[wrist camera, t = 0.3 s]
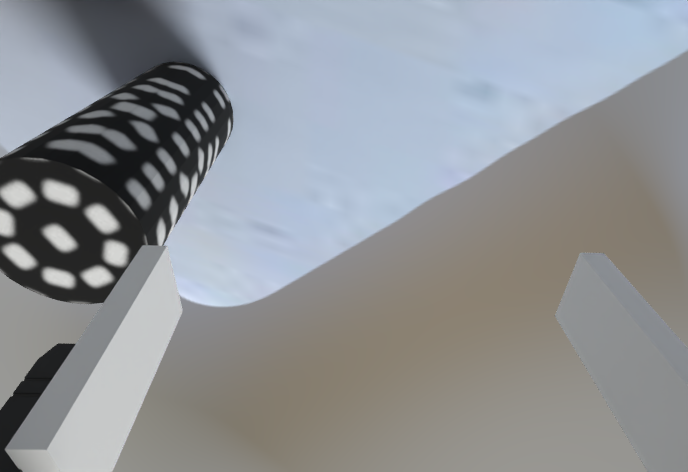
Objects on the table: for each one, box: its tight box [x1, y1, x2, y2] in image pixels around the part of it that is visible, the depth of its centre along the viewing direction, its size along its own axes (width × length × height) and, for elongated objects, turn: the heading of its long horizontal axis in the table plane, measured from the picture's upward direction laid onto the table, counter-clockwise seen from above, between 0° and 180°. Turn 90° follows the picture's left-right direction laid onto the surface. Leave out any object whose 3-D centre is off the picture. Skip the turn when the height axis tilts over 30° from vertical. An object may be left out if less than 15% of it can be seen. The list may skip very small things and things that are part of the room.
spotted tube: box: [0, 62, 233, 304], centre depth 29 cm, size 8×8×20 cm
